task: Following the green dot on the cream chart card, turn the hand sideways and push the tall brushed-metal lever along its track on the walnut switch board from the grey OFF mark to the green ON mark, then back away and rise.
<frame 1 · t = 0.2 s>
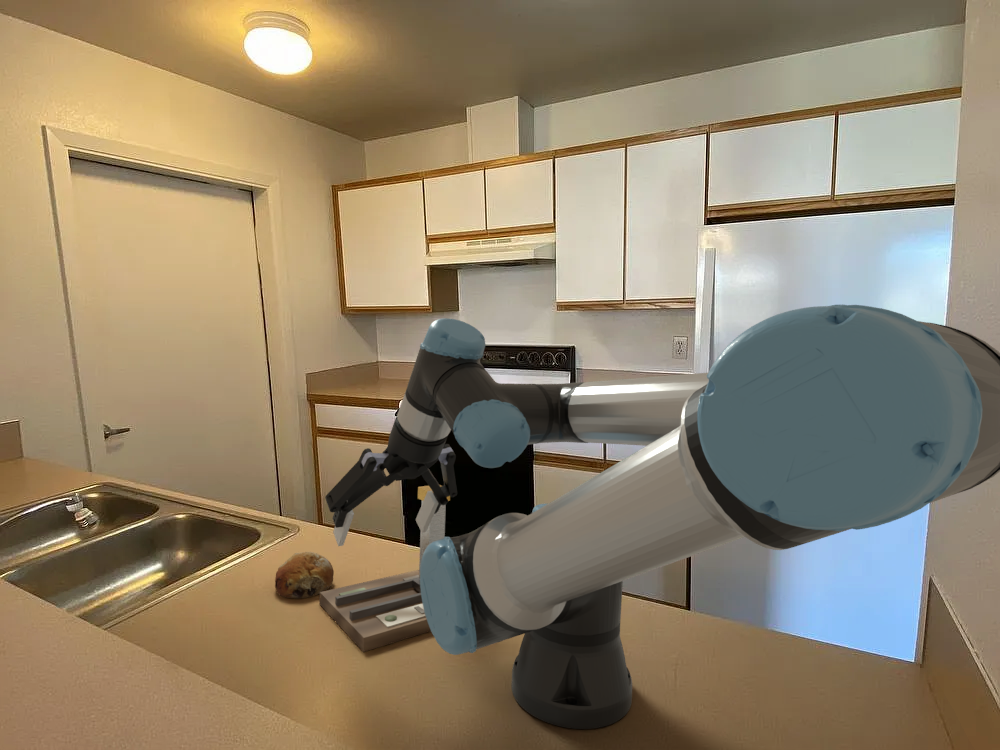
hand: (381, 532, 84), 15 cm above the worktop, tool tilted 35°, fingers open, 13 cm apart
lever: (432, 537, 93), point 11 cm above the worktop, slide at -6.0 cm
bread roll: (303, 589, 97), on the worktop
switch board: (398, 610, 90), on the worktop
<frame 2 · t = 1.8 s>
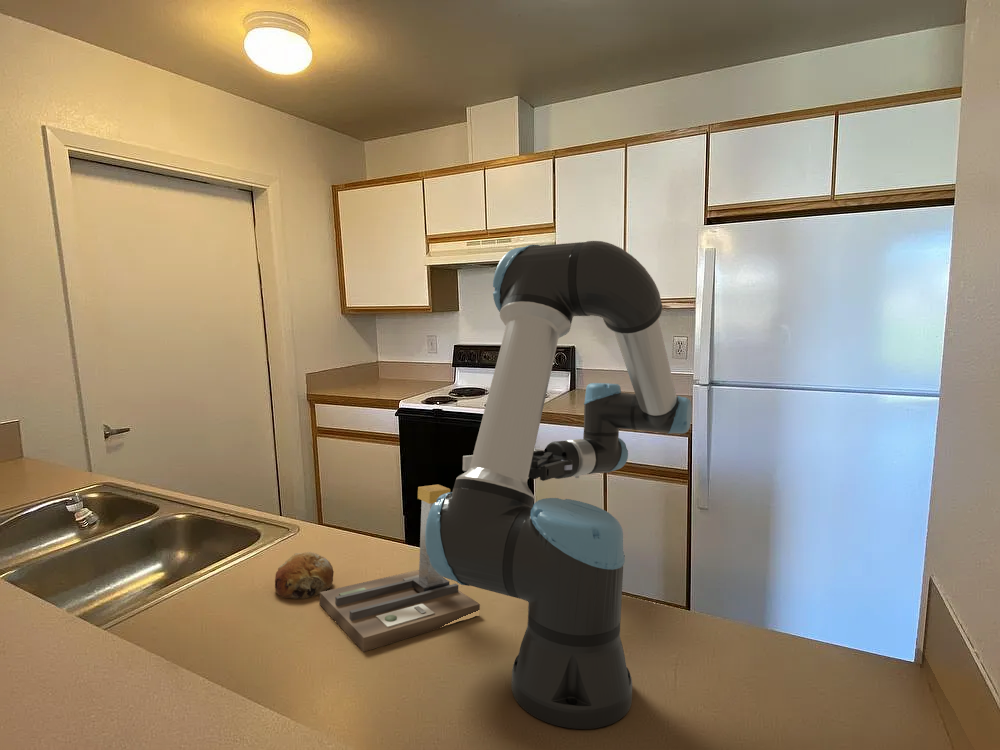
hand: (480, 468, 99), 22 cm above the worktop, tool horizontal, fingers open, 10 cm apart
nothing on the worktop moved.
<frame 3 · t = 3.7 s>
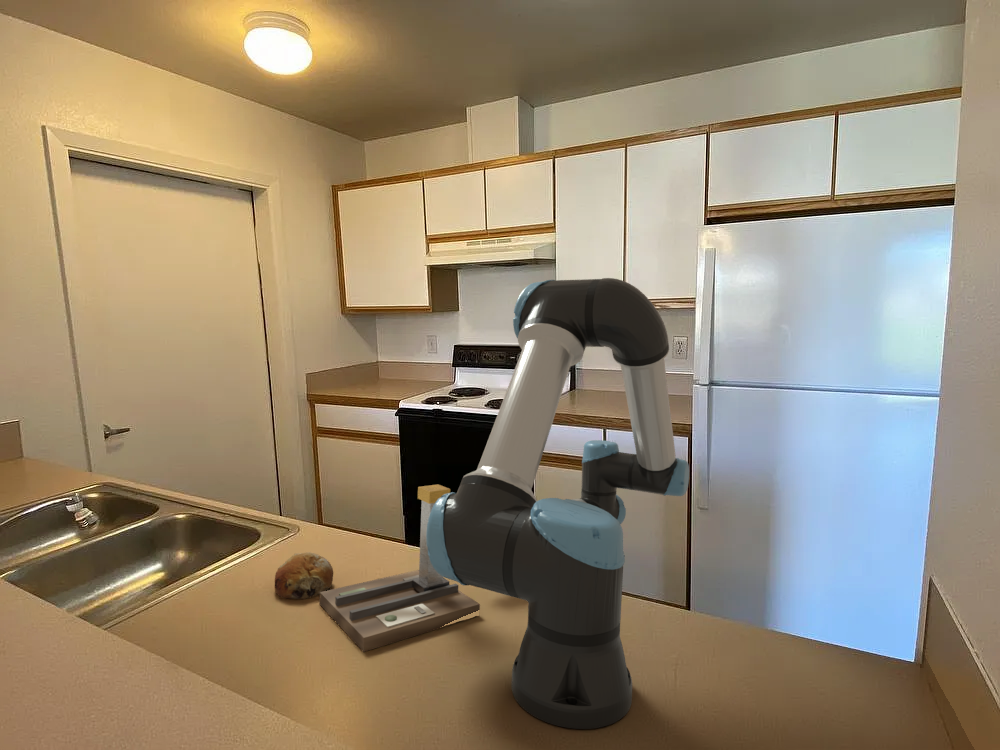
hand: (471, 538, 98), 9 cm above the worktop, tool horizontal, fingers closed
nothing on the worktop moved.
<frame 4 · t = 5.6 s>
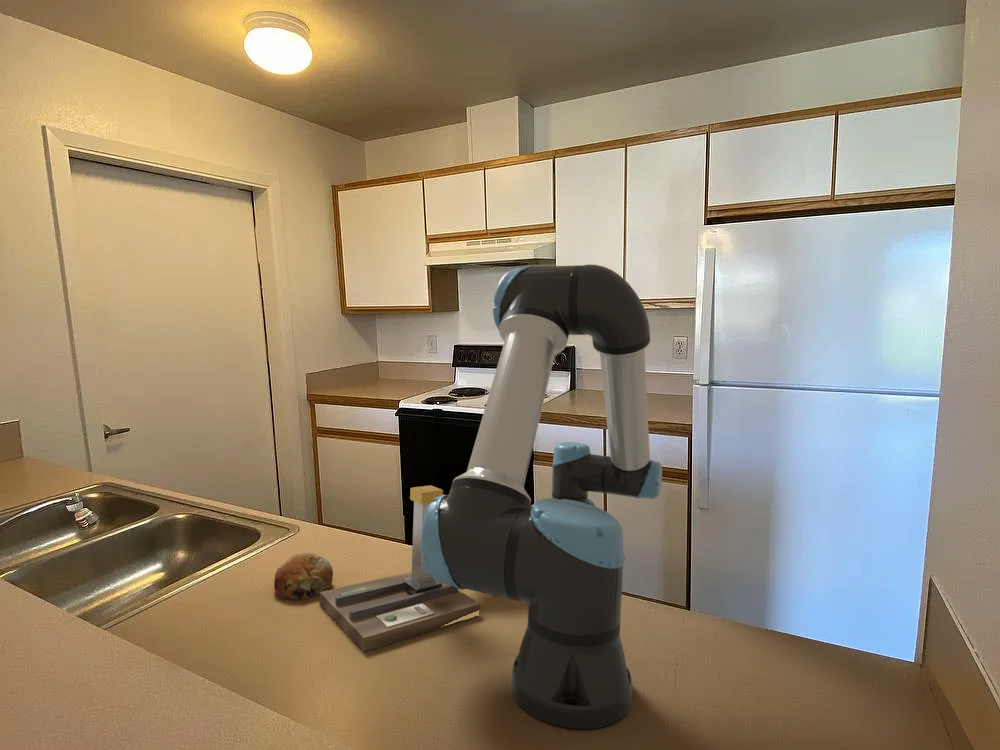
hand: (430, 544, 94), 9 cm above the worktop, tool horizontal, fingers closed
lever: (424, 539, 92), point 11 cm above the worktop, slide at -4.5 cm, touching gripper
everything else where it was.
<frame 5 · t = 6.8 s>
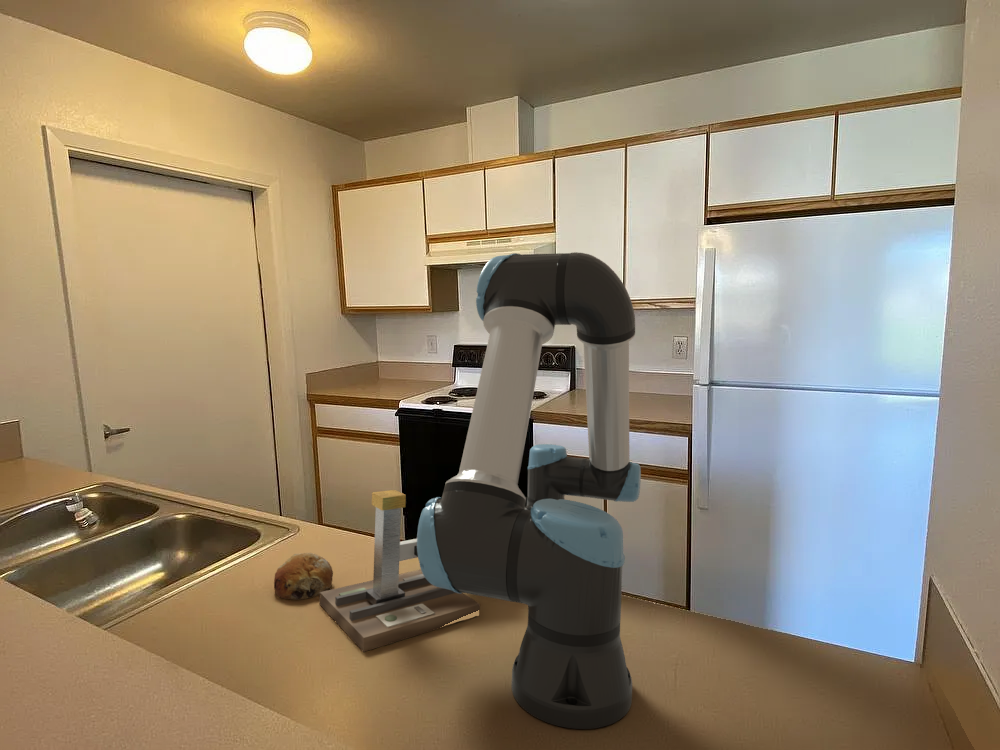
hand: (394, 552, 90), 9 cm above the worktop, tool horizontal, fingers closed
lever: (387, 546, 88), point 11 cm above the worktop, slide at 2.5 cm, touching gripper
everything else where it was.
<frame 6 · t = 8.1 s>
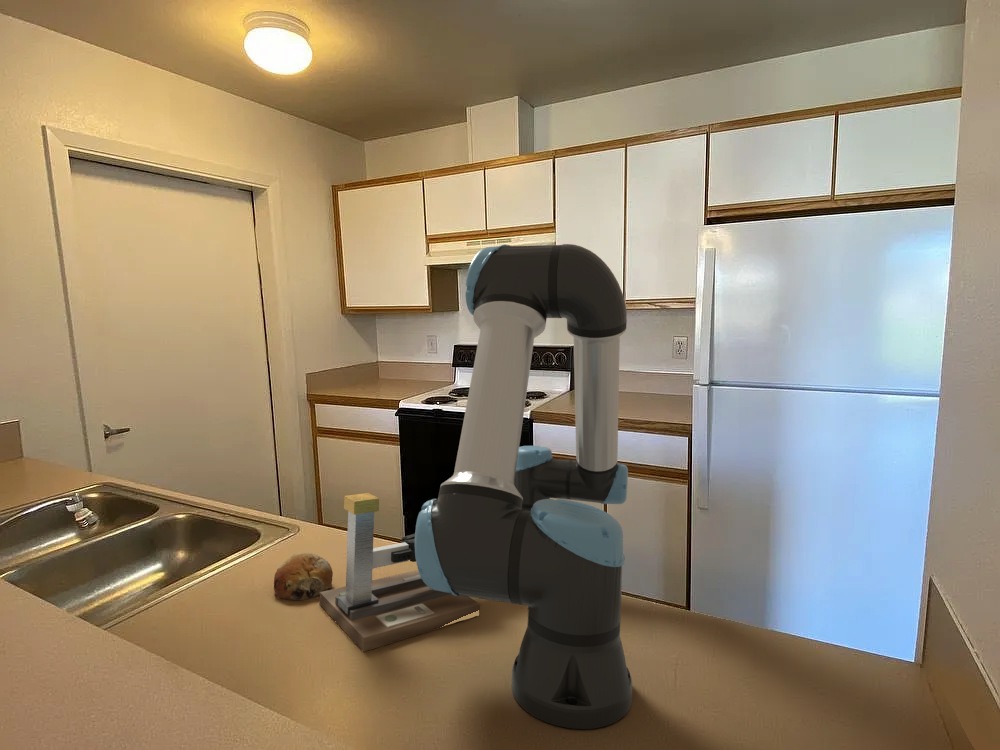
hand: (369, 558, 87), 9 cm above the worktop, tool horizontal, fingers closed
lever: (359, 551, 85), point 11 cm above the worktop, slide at 7.1 cm, touching gripper
everything else where it was.
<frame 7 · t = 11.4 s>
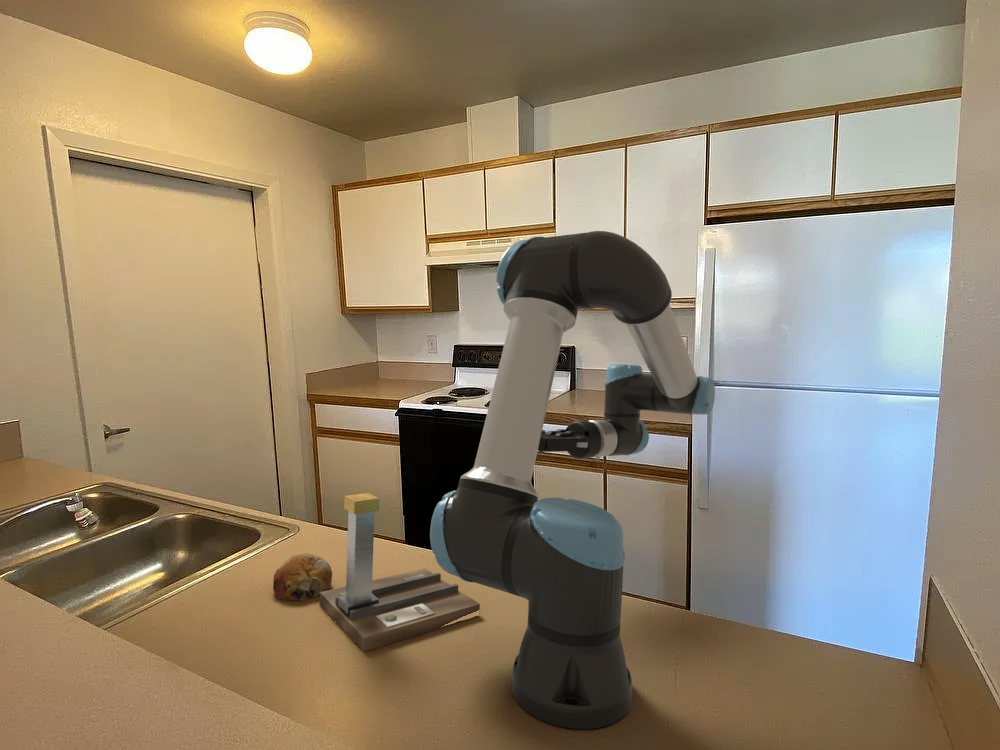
hand: (497, 444, 96), 27 cm above the worktop, tool horizontal, fingers closed
lever: (360, 551, 85), point 11 cm above the worktop, slide at 7.0 cm
everything else where it was.
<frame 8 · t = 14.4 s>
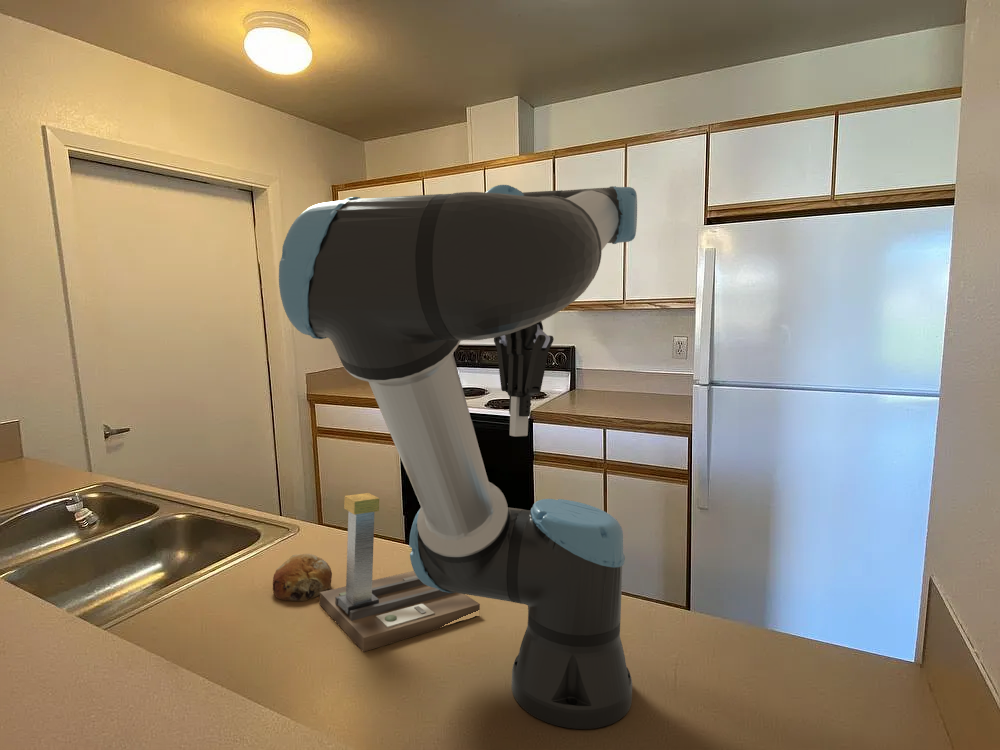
hand: (518, 435, 91), 29 cm above the worktop, tool pointing down, fingers closed
at the end: lever slide at 7.0 cm; bread roll moved 1.2 cm from its start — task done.
